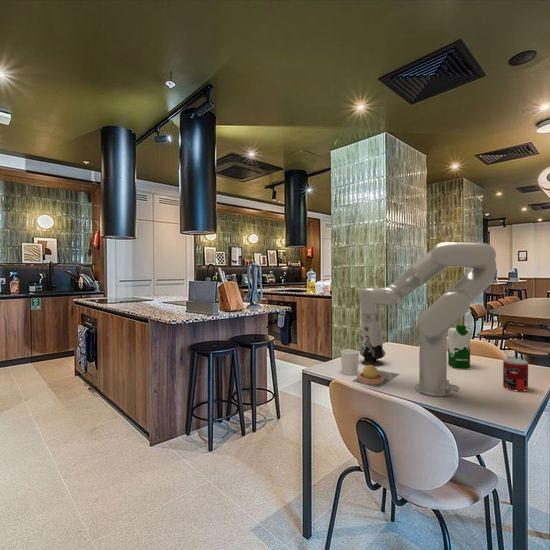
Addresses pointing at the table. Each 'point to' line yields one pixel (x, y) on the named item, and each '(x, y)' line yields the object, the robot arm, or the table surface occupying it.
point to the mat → (383, 381)
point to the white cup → (349, 361)
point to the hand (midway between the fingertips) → (373, 359)
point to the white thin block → (385, 374)
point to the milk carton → (459, 347)
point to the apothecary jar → (374, 358)
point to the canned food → (515, 374)
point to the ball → (370, 372)
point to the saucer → (376, 381)
